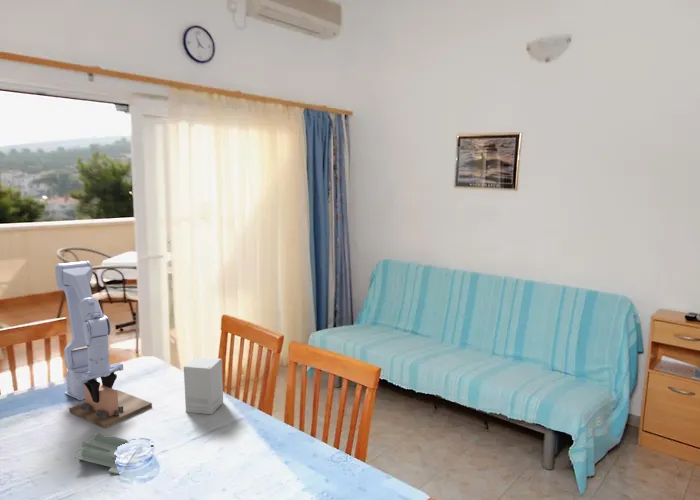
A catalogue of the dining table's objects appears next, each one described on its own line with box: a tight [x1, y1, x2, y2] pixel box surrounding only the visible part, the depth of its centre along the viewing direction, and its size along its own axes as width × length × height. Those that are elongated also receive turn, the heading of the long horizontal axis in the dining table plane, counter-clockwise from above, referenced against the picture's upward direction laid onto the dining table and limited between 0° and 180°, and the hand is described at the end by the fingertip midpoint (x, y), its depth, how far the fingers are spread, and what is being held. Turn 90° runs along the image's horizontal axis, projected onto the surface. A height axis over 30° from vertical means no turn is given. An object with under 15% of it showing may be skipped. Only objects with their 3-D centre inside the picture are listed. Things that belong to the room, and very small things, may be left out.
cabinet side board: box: [68, 389, 153, 429], centre depth 159 cm, size 18×16×3 cm
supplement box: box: [183, 356, 224, 415], centre depth 161 cm, size 9×9×15 cm
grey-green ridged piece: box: [74, 432, 136, 475], centre depth 133 cm, size 14×6×15 cm
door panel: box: [84, 383, 119, 416], centre depth 156 cm, size 12×3×7 cm, turn 58°
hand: (101, 399), depth 156 cm, fingers closed on door panel, 3 cm apart
